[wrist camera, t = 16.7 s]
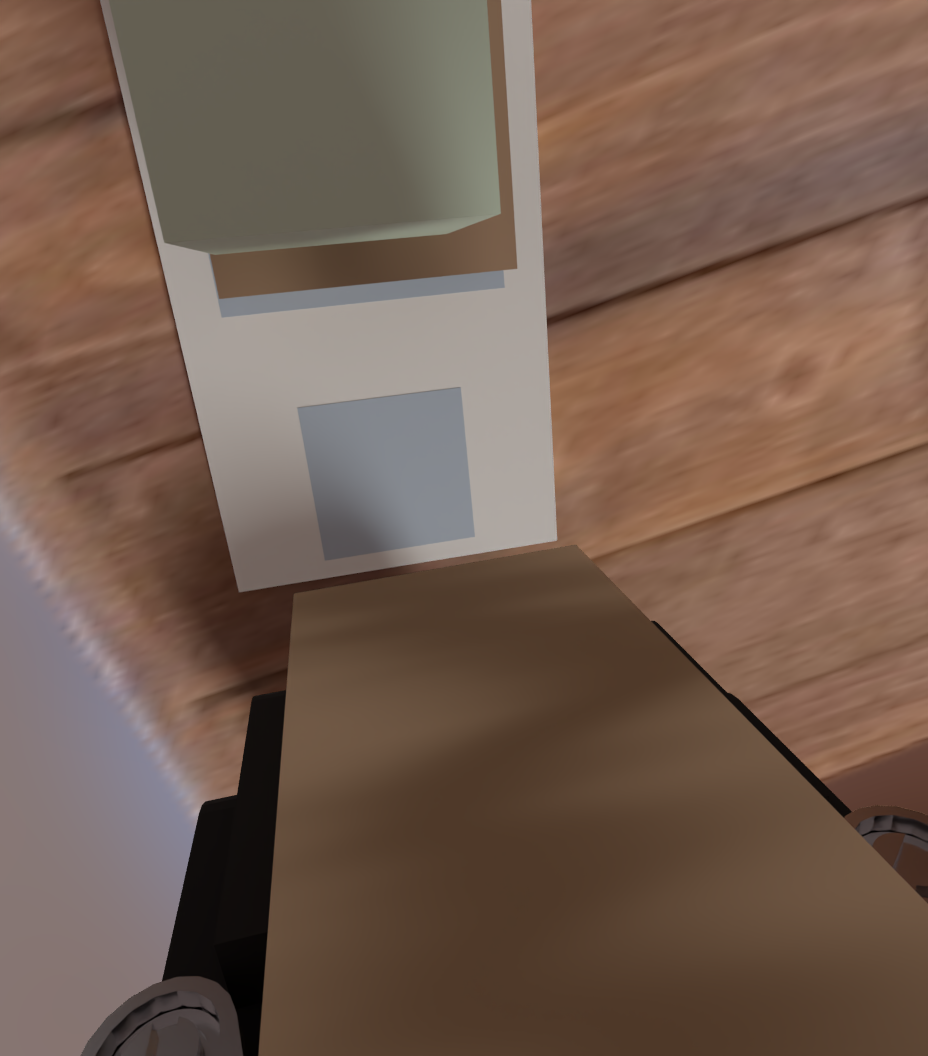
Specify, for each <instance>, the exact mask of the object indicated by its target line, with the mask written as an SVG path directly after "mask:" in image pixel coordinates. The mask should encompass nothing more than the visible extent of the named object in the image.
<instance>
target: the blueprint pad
mask: <svg viewBox="0 0 928 1056" xmlns="http://www.w3.org/2000/svg"><path fill="white" fill-rule="evenodd" d="M100 2H101V7H102V11H103V15H104V19H105V24H106V28H107V32H108V37H109V41H110V45H111V49H112V54H113V58H114V62H115V66H116V71H117V75H118V79H119V83H120V88H121V92H122V96H123V100H124V105H125V109H126V113H127V117H128V122H129V126H130V130H131V135H132V139H133V143H134V147H135V152H136V156H137V160H138V164H139V169H140V173H141V177H142V181H143V186H144V190H145V194H146V198H147V203H148V207H149V211H150V215H151V220H152V224H153V228H154V233H155V237H156V241H157V245H158V250H159V254H160V258H161V262H162V267H163V271H164V275H165V279H166V284H167V288H168V292H169V296H170V301H171V305H172V309H173V313H174V318H175V322H176V326H177V331H178V335H179V339H180V343H181V348H182V352H183V356H184V360H185V365H186V369H187V373H188V377H189V382H190V386H191V390H192V394H193V399H194V403H195V407H196V411H197V416H198V420H199V424H200V429H201V433H202V437H203V441H204V446H205V450H206V454H207V458H208V463H209V467H210V471H211V475H212V480H213V484H214V488H215V492H216V497H217V501H218V505H219V509H220V514H221V518H222V522H223V527H224V531H225V535H226V539H227V544H228V548H229V552H230V556H231V561H232V565H233V569H234V573H235V578H236V582H237V586H238V590H239V592H244V591H251V590H257V589H263V588H269V587H275V586H281V585H287V584H293V583H300V582H306V581H312V580H318V579H324V578H330V577H336V576H342V575H349V574H355V573H361V572H367V571H373V570H379V569H385V568H391V567H398V566H404V565H410V564H416V563H422V562H428V561H434V560H440V559H447V558H453V557H459V556H465V555H471V554H477V553H483V552H490V551H496V550H502V549H508V548H514V547H520V546H526V545H532V544H539V543H545V542H551V541H557V528H556V507H555V486H554V466H553V445H552V424H551V404H550V383H549V362H548V342H547V321H546V300H545V280H544V259H543V238H542V218H541V197H540V176H539V156H538V135H537V114H536V94H535V73H534V52H533V32H532V11H531V0H501V7H502V23H503V40H504V56H505V73H506V89H507V105H508V122H509V138H510V155H511V171H512V187H513V204H514V220H515V237H516V253H517V269H511V270H501V271H491V272H481V273H471V274H461V275H452V276H442V277H432V278H422V279H412V280H402V281H392V282H383V283H373V284H363V285H353V286H343V287H333V288H323V289H314V290H304V291H294V292H284V293H274V294H264V295H254V296H245V297H235V298H225V299H219V296H218V291H217V286H216V282H215V277H214V272H213V267H212V263H211V258H210V254H209V253H205V252H201V251H197V250H192V249H188V248H184V247H180V246H175V245H171V244H167V243H164V240H163V236H162V231H161V227H160V222H159V218H158V214H157V209H156V205H155V201H154V196H153V192H152V187H151V183H150V179H149V174H148V170H147V166H146V161H145V157H144V152H143V148H142V144H141V139H140V135H139V131H138V126H137V122H136V117H135V113H134V109H133V104H132V100H131V96H130V91H129V87H128V82H127V78H126V74H125V69H124V65H123V61H122V56H121V52H120V47H119V43H118V39H117V34H116V30H115V26H114V21H113V17H112V13H111V8H110V4H109V0H100Z"/></svg>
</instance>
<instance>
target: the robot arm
mask: <svg viewBox="0 0 928 1056" xmlns="http://www.w3.org/2000/svg"><path fill="white" fill-rule="evenodd" d="M651 622H652V623H653V624H654V625H655V626H656V627H657V628H658V629H659V630H660V631H661V632H662V633H663V634H664V635H665V636H666V637H667V638H668V639H669V640H670V641H671V642H672V643H673V644H674V645H675V646H676V647H677V648H678V649H679V650H680V651H681V652H682V653H683V655H684V656H685V657H686V658H687V659H688V660H689V661H690V662H691V663H692V664H693V665H694V666H695V667H696V668H697V669H698V670H699V671H700V672H701V673H702V674H703V675H704V676H705V677H706V678H707V679H708V680H709V681H710V682H711V683H712V684H713V685H714V686H715V687H716V688H717V689H718V690H719V691H720V692H721V693H722V694H723V695H724V696H725V697H726V698H727V699H728V700H729V701H730V702H731V703H732V704H733V706H734V707H735V708H736V709H737V710H738V711H739V712H740V713H741V714H742V715H743V716H744V717H745V718H746V719H747V720H748V721H749V722H750V723H751V724H752V725H753V726H754V727H755V728H756V729H757V730H758V731H759V732H760V733H761V734H762V735H763V736H764V737H765V738H766V739H767V740H768V741H769V742H770V743H771V744H772V745H773V746H774V747H775V748H776V749H777V750H778V751H779V752H780V753H781V754H782V755H783V756H784V758H785V759H786V760H787V761H788V762H789V763H790V764H791V765H792V766H793V767H794V768H795V769H796V770H797V771H798V772H799V773H800V774H801V775H802V776H803V777H804V778H805V779H806V780H807V781H808V782H809V783H810V784H811V785H812V786H813V787H814V788H815V789H816V790H817V791H818V792H819V793H820V794H821V795H822V796H823V797H824V798H825V799H826V800H827V801H828V802H829V803H830V804H831V805H832V806H833V807H834V809H835V810H836V811H837V812H838V813H839V814H840V815H841V816H842V817H843V818H844V819H845V820H846V821H847V822H848V823H849V824H850V825H851V826H852V827H853V828H854V829H855V830H856V831H857V832H858V833H859V834H860V835H861V836H862V837H863V838H864V839H865V840H866V841H867V842H868V843H869V844H870V845H871V846H872V847H873V848H874V849H875V850H876V851H877V852H878V853H879V854H880V855H881V856H882V857H883V858H884V860H885V861H886V862H887V863H888V864H889V865H890V866H891V867H892V868H893V869H894V870H895V871H896V872H897V873H898V874H899V875H900V876H901V877H902V878H903V879H904V880H905V881H906V882H907V883H908V884H909V885H910V886H911V887H912V888H913V889H914V890H915V891H916V892H917V893H918V894H919V895H920V896H921V897H922V898H923V899H924V900H925V901H926V902H927V903H928V815H926V814H923V813H921V812H917V811H913V810H909V809H905V808H901V807H897V806H880V805H875V806H870V807H864V808H859V809H857V810H855V811H853V812H851V810H850V809H849V808H848V807H847V806H845V805H844V804H843V802H841V801H840V799H838V798H837V797H836V796H835V795H834V794H833V793H832V792H831V791H830V790H829V789H828V788H827V787H826V786H825V785H824V784H823V783H822V782H821V781H820V780H819V779H818V778H817V777H816V776H815V775H814V774H813V773H812V772H811V771H810V770H809V769H808V768H807V767H806V766H805V765H804V764H803V763H802V762H801V761H800V760H799V759H798V758H797V757H796V756H795V755H794V754H793V753H792V752H791V751H790V750H789V749H788V748H787V747H786V746H785V745H784V744H783V743H782V742H781V741H780V740H779V739H778V738H777V737H776V736H775V735H774V734H773V733H772V732H771V731H770V730H769V729H768V728H767V727H766V726H765V725H764V724H763V723H762V722H761V721H760V720H759V719H758V718H757V717H756V716H755V715H754V714H753V713H752V712H751V711H750V710H749V709H748V708H747V707H746V706H745V705H744V704H743V703H742V702H741V701H740V700H739V699H738V698H736V697H735V696H734V695H732V694H730V693H727V692H726V691H725V690H724V689H723V688H722V687H721V686H720V685H719V684H718V683H717V682H716V681H715V680H714V679H713V678H712V677H711V676H710V675H709V674H708V673H707V672H706V671H705V670H704V669H703V668H702V667H701V666H700V665H699V664H698V663H697V662H696V661H695V660H694V659H693V658H692V657H691V656H690V655H689V654H688V653H687V652H686V651H685V650H684V649H683V648H682V647H681V646H680V645H679V644H678V643H677V642H676V641H675V640H674V639H673V638H672V637H671V636H670V635H669V634H668V633H667V632H666V631H665V630H664V629H663V628H662V627H661V626H660V625H659V624H658V623H657V622H655V621H651ZM285 701H286V690H284V691H279V692H274V693H269V694H263V695H258V696H254V697H253V698H252V702H251V709H250V715H249V722H248V728H247V735H246V741H245V748H244V754H243V761H242V767H241V773H240V780H239V786H238V793H237V795H234V796H230V797H225V798H220V799H215V800H211V801H206V802H205V803H204V804H203V805H202V807H201V810H200V813H199V816H198V821H197V825H196V830H195V834H194V839H193V843H192V848H191V852H190V857H189V862H188V866H187V871H186V875H185V880H184V884H183V889H182V893H181V898H180V902H179V907H178V911H177V916H176V920H175V925H174V930H173V934H172V938H171V943H170V948H169V952H168V957H167V961H166V966H165V970H164V975H163V979H162V982H159V983H156V984H153V985H152V986H150V987H148V988H146V989H145V990H143V991H141V992H139V993H138V994H136V995H134V996H132V997H131V998H129V999H128V1000H127V1001H126V1002H124V1003H123V1005H121V1006H120V1007H119V1008H117V1009H116V1010H115V1011H114V1012H113V1013H112V1014H110V1015H109V1016H108V1017H107V1018H106V1020H105V1021H104V1022H103V1023H102V1025H101V1026H100V1027H99V1028H98V1029H97V1031H96V1032H95V1033H94V1035H93V1036H92V1037H91V1038H90V1039H89V1041H88V1042H87V1044H86V1046H85V1048H84V1050H83V1052H82V1054H81V1056H258V1054H259V1041H260V1028H261V1015H262V1002H263V988H264V975H265V962H266V949H267V936H268V923H269V910H270V897H271V884H272V871H273V858H274V845H275V832H276V819H277V805H278V792H279V779H280V766H281V753H282V740H283V727H284V714H285Z"/></svg>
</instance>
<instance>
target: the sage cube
mask: <svg viewBox="0 0 928 1056" xmlns="http://www.w3.org/2000/svg"><path fill="white" fill-rule="evenodd" d="M109 4H110V8H111V13H112V17H113V21H114V26H115V30H116V34H117V39H118V43H119V47H120V52H121V56H122V61H123V65H124V69H125V74H126V78H127V82H128V87H129V91H130V96H131V100H132V104H133V109H134V113H135V117H136V122H137V126H138V131H139V135H140V139H141V144H142V148H143V152H144V157H145V161H146V166H147V170H148V174H149V179H150V183H151V187H152V192H153V196H154V201H155V205H156V209H157V214H158V218H159V222H160V227H161V231H162V236H163V240H164V243H167V244H171V245H175V246H180V247H184V248H188V249H192V250H197V251H201V252H205V253H209V254H214V255H219V254H230V253H241V252H252V251H263V250H274V249H285V248H297V247H308V246H319V245H330V244H341V243H352V242H363V241H374V240H385V239H397V238H408V237H419V236H430V235H441V234H448V233H451V232H453V231H456V230H459V229H461V228H464V227H467V226H469V225H472V224H475V223H477V222H480V221H483V220H485V219H488V218H491V217H493V216H496V215H499V214H501V208H500V193H499V177H498V162H497V147H496V132H495V116H494V101H493V86H492V70H491V55H490V40H489V25H488V9H487V0H109Z"/></svg>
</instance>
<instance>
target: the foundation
mask: <svg viewBox="0 0 928 1056" xmlns="http://www.w3.org/2000/svg"><path fill="white" fill-rule="evenodd" d="M487 9H488V25H489V40H490V55H491V70H492V86H493V101H494V116H495V132H496V147H497V162H498V177H499V193H500V208H501V214H499V215H496V216H493V217H491V218H488V219H485V220H483V221H480V222H477V223H475V224H472V225H469V226H467V227H464V228H461V229H459V230H456V231H453V232H451V233H448V234H441V235H430V236H419V237H408V238H397V239H385V240H374V241H363V242H352V243H341V244H330V245H319V246H308V247H297V248H285V249H274V250H263V251H252V252H241V253H230V254H219V255H214V254H210V258H211V263H212V267H213V272H214V277H215V282H216V286H217V291H218V296H219V299H225V298H235V297H245V296H254V295H264V294H274V293H284V292H294V291H304V290H314V289H323V288H333V287H343V286H353V285H363V284H373V283H383V282H392V281H402V280H412V279H422V278H432V277H442V276H452V275H461V274H471V273H481V272H491V271H501V270H511V269H517V253H516V237H515V220H514V204H513V187H512V171H511V155H510V138H509V122H508V105H507V89H506V73H505V56H504V40H503V23H502V7H501V0H487Z"/></svg>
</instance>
